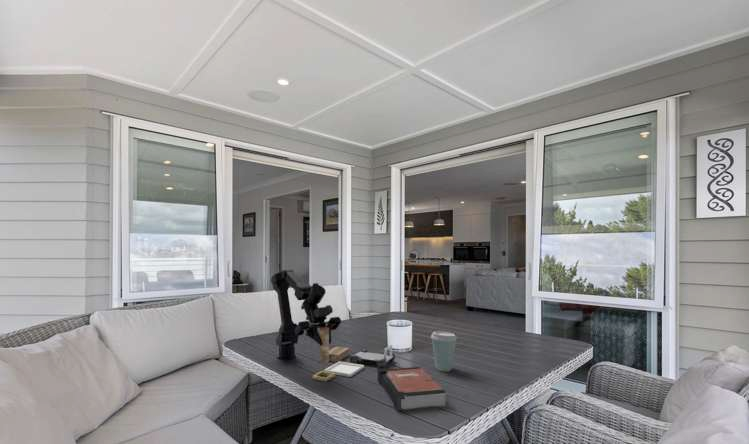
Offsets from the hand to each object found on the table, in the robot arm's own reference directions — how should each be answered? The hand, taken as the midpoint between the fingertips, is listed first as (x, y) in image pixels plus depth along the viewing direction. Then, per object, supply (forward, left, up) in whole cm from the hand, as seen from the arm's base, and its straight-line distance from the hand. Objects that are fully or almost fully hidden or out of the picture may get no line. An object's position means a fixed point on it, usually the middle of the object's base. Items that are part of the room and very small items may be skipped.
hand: (326, 344), depth 143 cm
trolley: (+8, +26, -13) cm, 30 cm away
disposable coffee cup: (+39, +31, -13) cm, 51 cm away
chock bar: (-10, +26, -14) cm, 31 cm away
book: (+34, +1, -14) cm, 37 cm away
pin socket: (-1, +1, -13) cm, 13 cm away
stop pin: (-1, +1, -7) cm, 7 cm away
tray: (+2, +12, -13) cm, 18 cm away
